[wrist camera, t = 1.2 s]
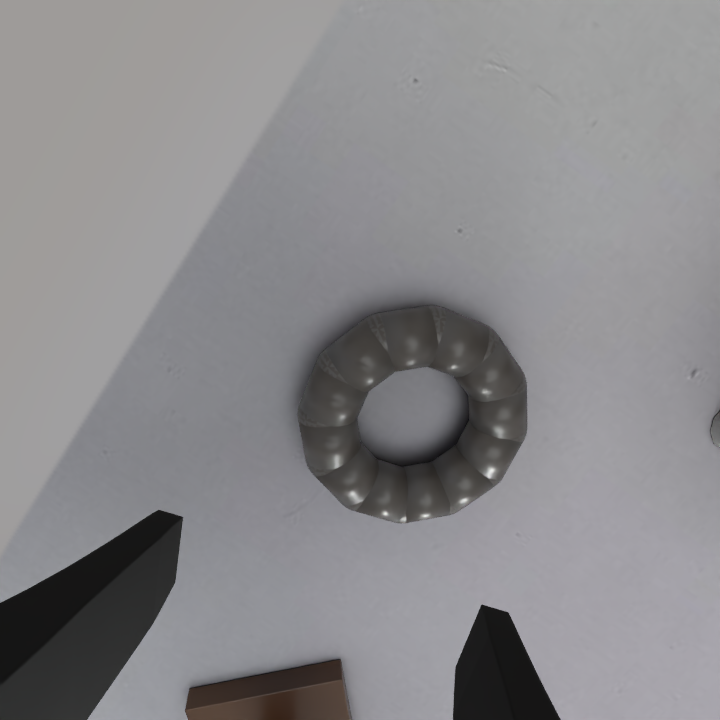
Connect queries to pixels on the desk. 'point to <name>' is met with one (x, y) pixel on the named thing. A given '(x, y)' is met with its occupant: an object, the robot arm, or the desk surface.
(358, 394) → the donut
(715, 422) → the alarm clock
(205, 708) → the post
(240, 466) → the desk surface
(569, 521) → the desk surface
